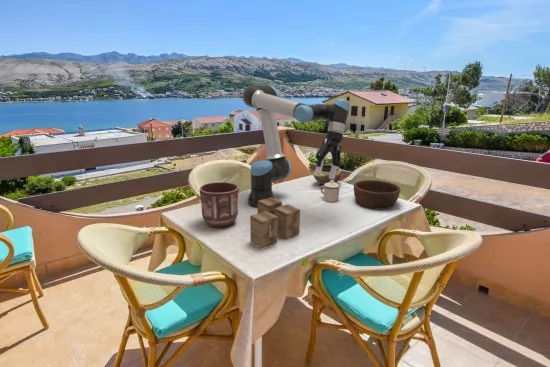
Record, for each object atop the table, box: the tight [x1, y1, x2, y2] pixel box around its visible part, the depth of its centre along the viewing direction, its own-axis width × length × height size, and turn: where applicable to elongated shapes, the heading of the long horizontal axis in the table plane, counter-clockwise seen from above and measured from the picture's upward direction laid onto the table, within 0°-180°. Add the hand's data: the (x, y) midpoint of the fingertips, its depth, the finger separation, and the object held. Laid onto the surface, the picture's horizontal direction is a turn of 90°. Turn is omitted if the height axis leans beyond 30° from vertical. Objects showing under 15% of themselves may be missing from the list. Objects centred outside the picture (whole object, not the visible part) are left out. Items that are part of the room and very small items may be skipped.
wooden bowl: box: [353, 179, 401, 210], centre depth 178 cm, size 25×25×10 cm
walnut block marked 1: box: [249, 211, 278, 250], centre depth 131 cm, size 8×8×12 cm
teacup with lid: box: [319, 180, 341, 203], centre depth 183 cm, size 12×9×12 cm
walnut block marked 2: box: [257, 197, 283, 215], centre depth 148 cm, size 8×8×12 cm
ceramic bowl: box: [312, 163, 343, 187], centre depth 209 cm, size 24×18×15 cm
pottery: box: [199, 181, 240, 229], centre depth 149 cm, size 18×18×18 cm
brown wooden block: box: [274, 204, 301, 240], centre depth 139 cm, size 8×8×12 cm
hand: (324, 176), depth 148 cm, fingers open, 13 cm apart
